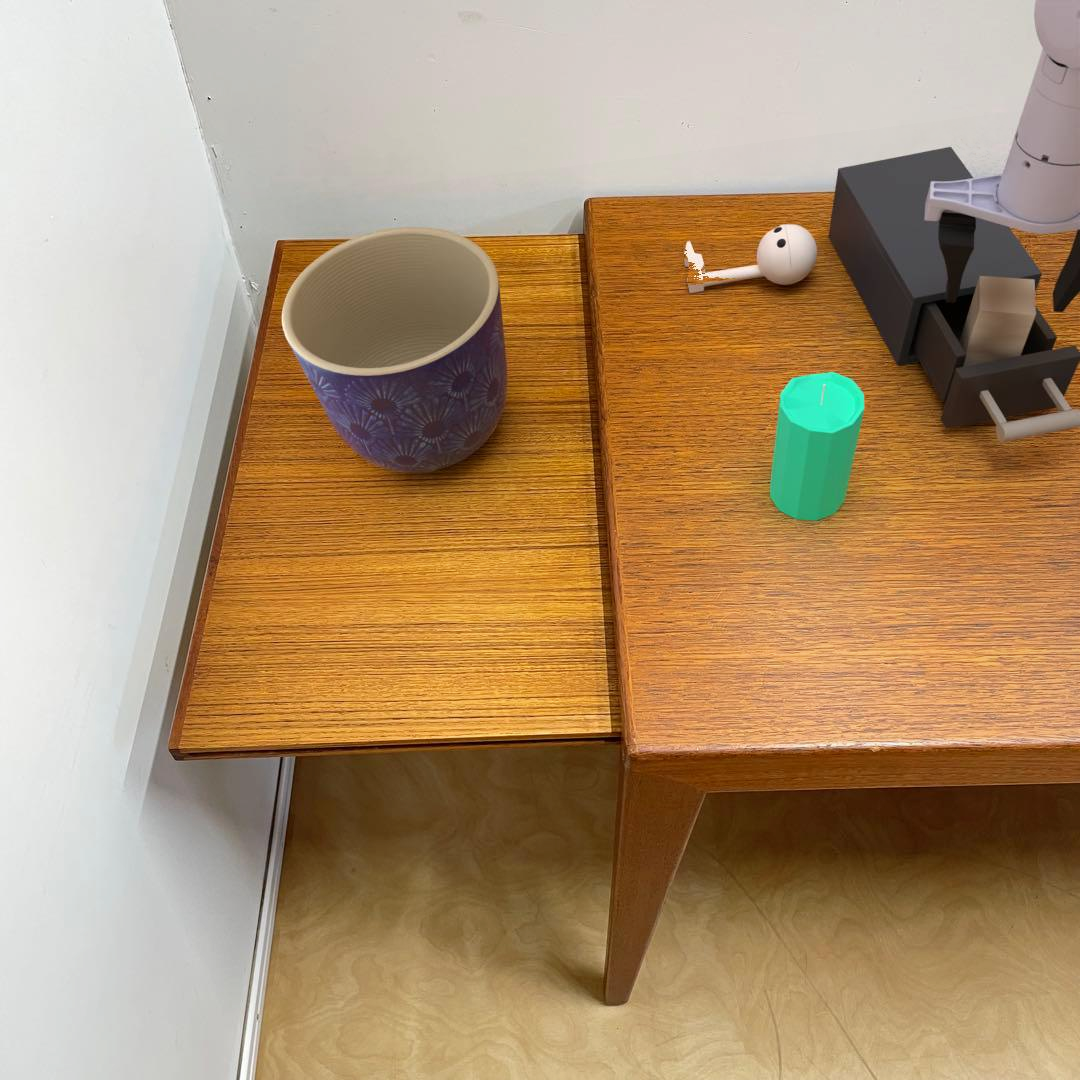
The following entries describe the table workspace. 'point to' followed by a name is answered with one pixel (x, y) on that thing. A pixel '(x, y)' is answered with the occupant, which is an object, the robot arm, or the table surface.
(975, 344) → the block
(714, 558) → the table surface
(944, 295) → the cabinet
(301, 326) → the planter
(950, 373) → the drawer
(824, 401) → the candle
